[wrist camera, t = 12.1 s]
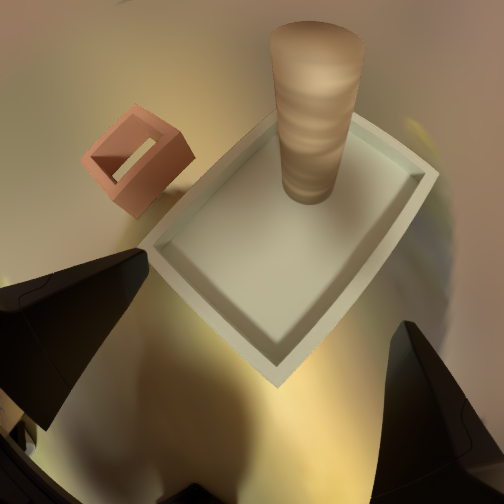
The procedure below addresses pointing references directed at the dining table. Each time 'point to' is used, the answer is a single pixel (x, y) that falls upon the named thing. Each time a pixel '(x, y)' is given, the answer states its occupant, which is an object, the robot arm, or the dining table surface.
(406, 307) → the dining table surface
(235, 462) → the dining table surface
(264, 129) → the tray
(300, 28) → the dowel
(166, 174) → the square frame
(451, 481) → the robot arm
